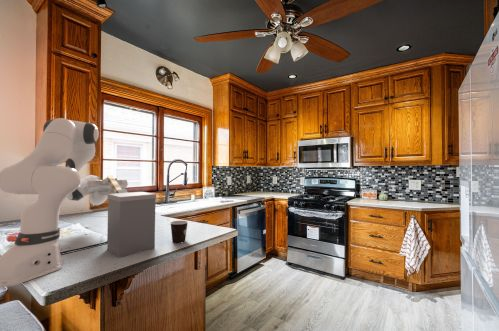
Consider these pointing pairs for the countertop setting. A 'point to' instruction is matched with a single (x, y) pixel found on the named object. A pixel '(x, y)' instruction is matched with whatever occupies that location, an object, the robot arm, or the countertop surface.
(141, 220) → the case
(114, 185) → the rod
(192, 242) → the countertop surface
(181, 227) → the coffee mug
